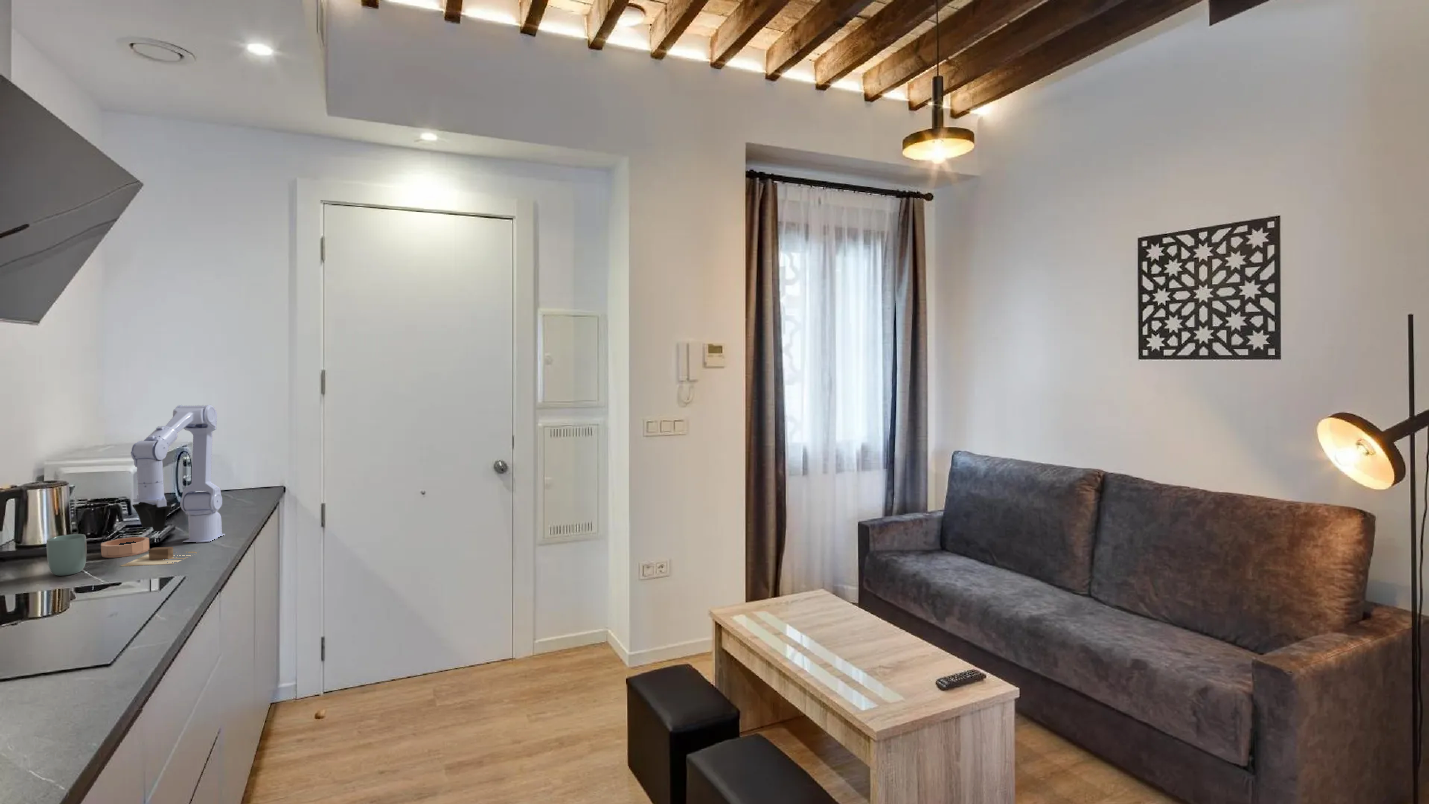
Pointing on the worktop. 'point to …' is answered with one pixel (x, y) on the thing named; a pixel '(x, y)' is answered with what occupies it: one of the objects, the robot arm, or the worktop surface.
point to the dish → (124, 547)
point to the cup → (66, 554)
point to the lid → (156, 557)
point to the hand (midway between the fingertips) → (152, 528)
